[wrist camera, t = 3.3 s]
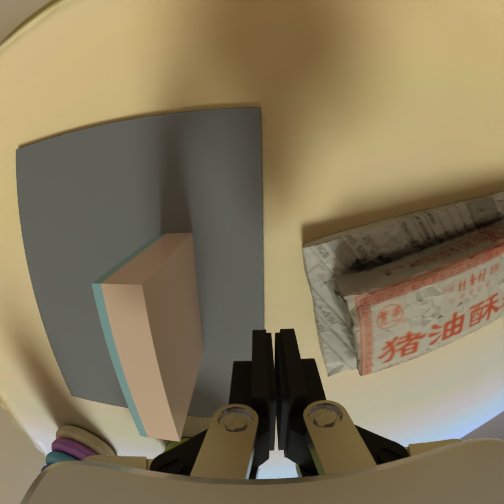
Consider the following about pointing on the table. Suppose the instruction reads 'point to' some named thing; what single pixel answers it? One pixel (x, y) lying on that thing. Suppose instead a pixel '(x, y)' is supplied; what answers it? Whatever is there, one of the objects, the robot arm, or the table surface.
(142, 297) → the tile
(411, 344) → the packaged product
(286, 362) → the robot arm
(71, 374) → the mat
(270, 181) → the table surface
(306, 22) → the table surface
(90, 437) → the stacking toy
